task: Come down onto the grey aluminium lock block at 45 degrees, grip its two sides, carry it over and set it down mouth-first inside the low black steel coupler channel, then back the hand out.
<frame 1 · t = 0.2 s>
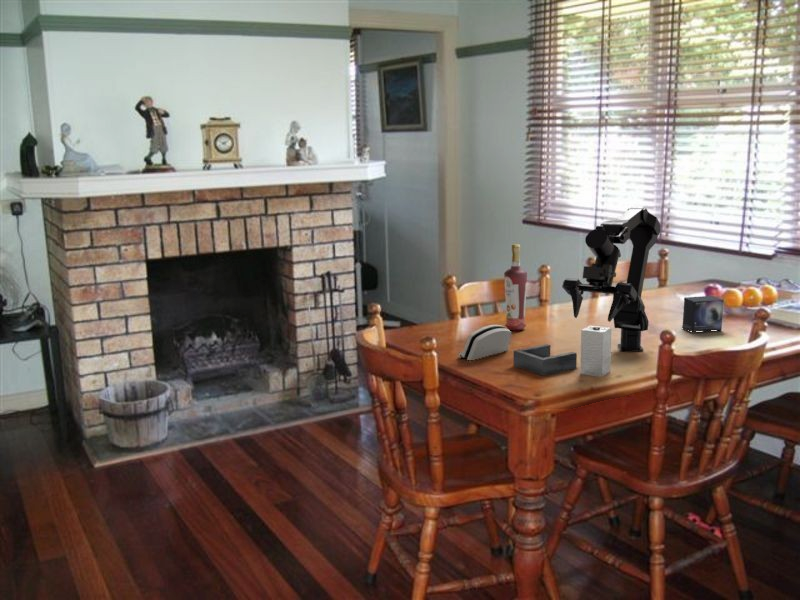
hand: (591, 319, 210), 15 cm above the table, tool tilted 35°, fingers open, 9 cm apart
grey rounded block: (486, 356, 234), on the table
coupler channel: (544, 366, 221), on the table
lock block: (595, 372, 214), on the table
liquor: (515, 330, 264), on the table
small box: (701, 330, 257), on the table
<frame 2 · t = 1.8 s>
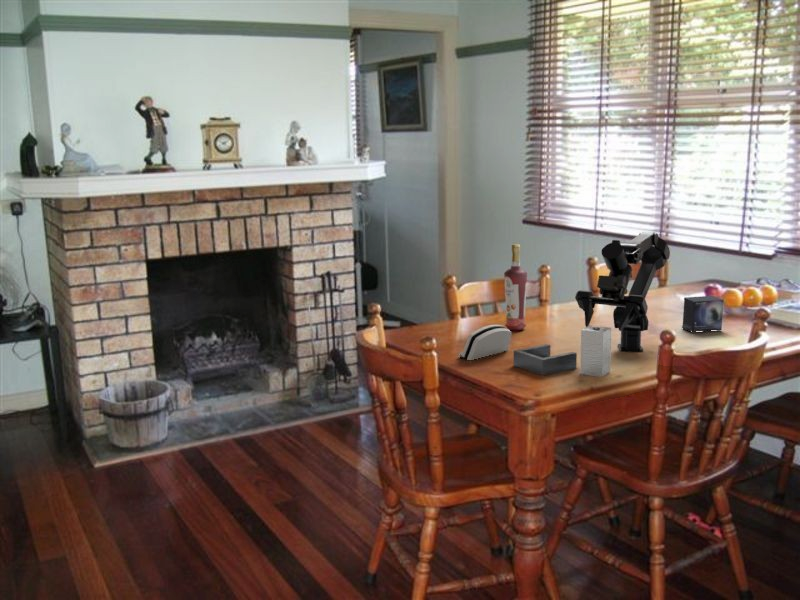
hand: (602, 328, 216), 11 cm above the table, tool tilted 45°, fingers open, 9 cm apart
nothing on the table moved.
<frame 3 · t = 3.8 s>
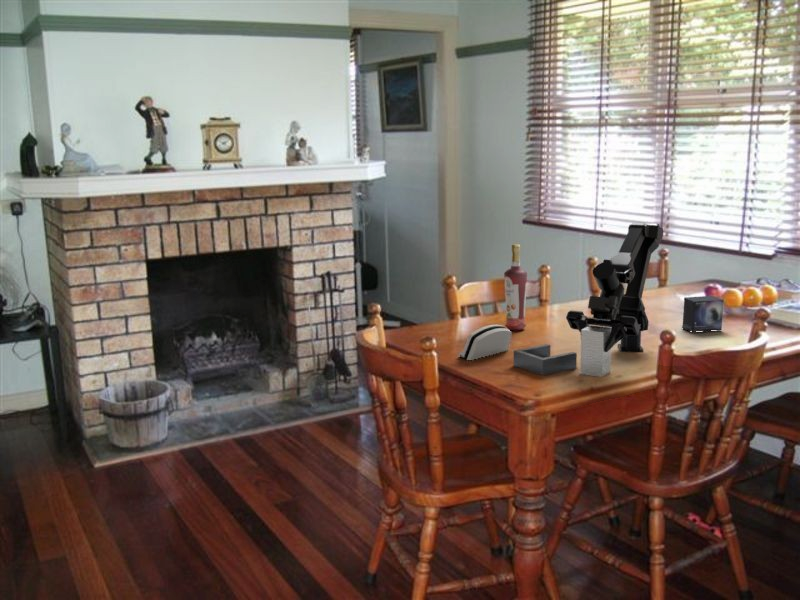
hand: (593, 349, 212), 7 cm above the table, tool tilted 45°, fingers closed on lock block, 6 cm apart
lock block: (595, 372, 214), on the table, touching gripper
everything else where it was.
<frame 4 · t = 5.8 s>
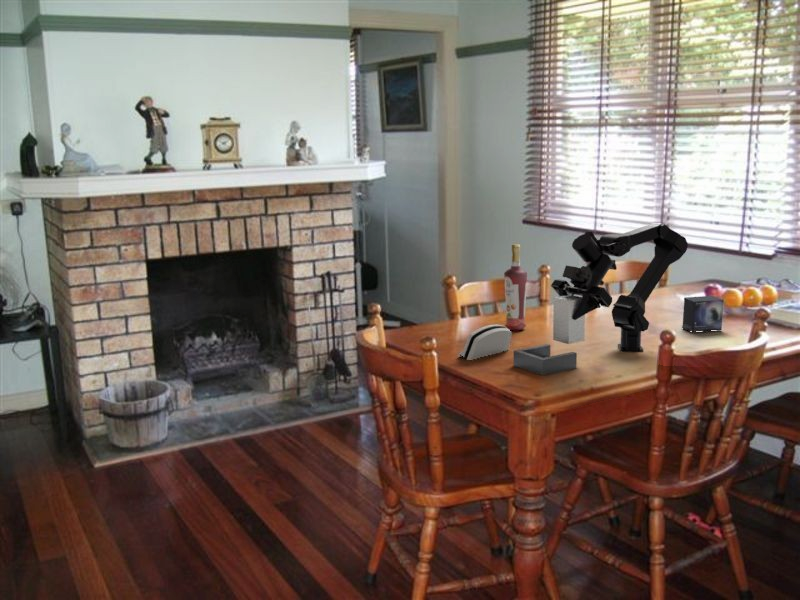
hand: (565, 317, 221), 13 cm above the table, tool tilted 45°, fingers closed on lock block, 6 cm apart
lock block: (568, 340, 223), point 6 cm above the table, touching gripper
everything else where it was.
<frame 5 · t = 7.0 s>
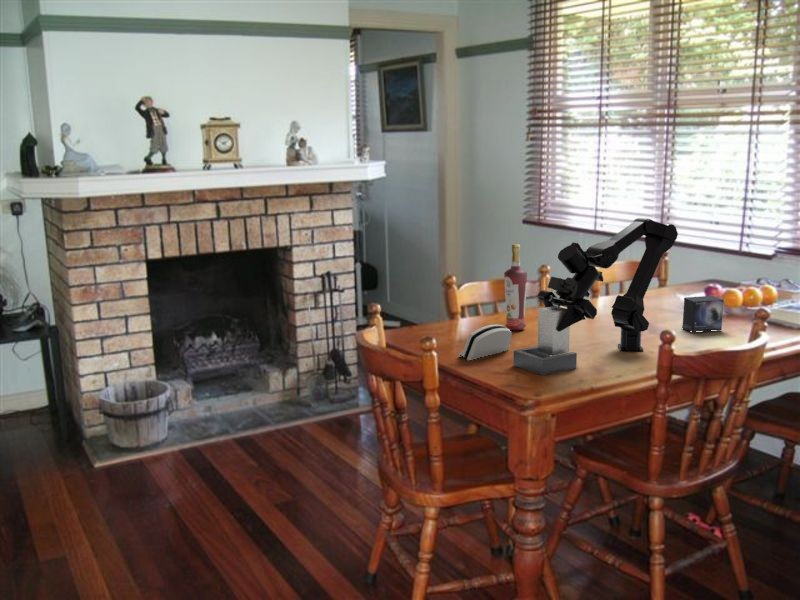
hand: (549, 328, 219), 11 cm above the table, tool tilted 45°, fingers closed on lock block, 6 cm apart
lock block: (553, 351, 221), point 4 cm above the table, touching gripper
everything else where it was.
when the fingers open (9 cm above the table, at t = 8.1 s): lock block drops 1 cm, resting on coupler channel.
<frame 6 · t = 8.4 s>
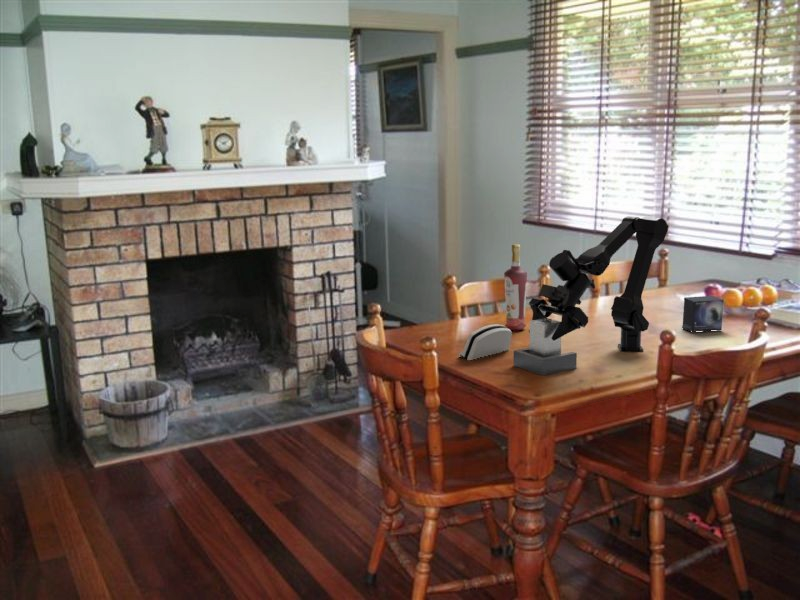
hand: (541, 336, 218), 9 cm above the table, tool tilted 45°, fingers open, 9 cm apart
lock block: (545, 364, 221), point 1 cm above the table, touching coupler channel
everything else where it was.
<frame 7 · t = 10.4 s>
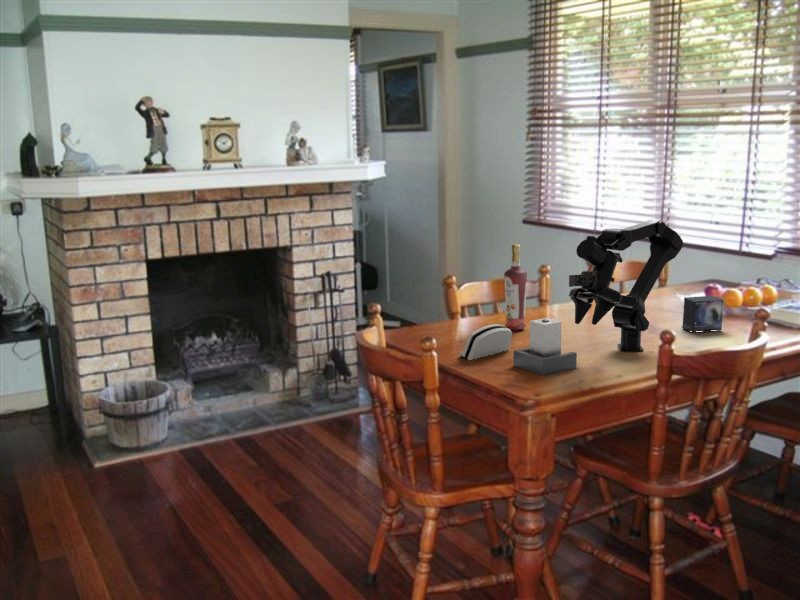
hand: (584, 324, 223), 11 cm above the table, tool tilted 30°, fingers open, 9 cm apart
nothing on the table moved.
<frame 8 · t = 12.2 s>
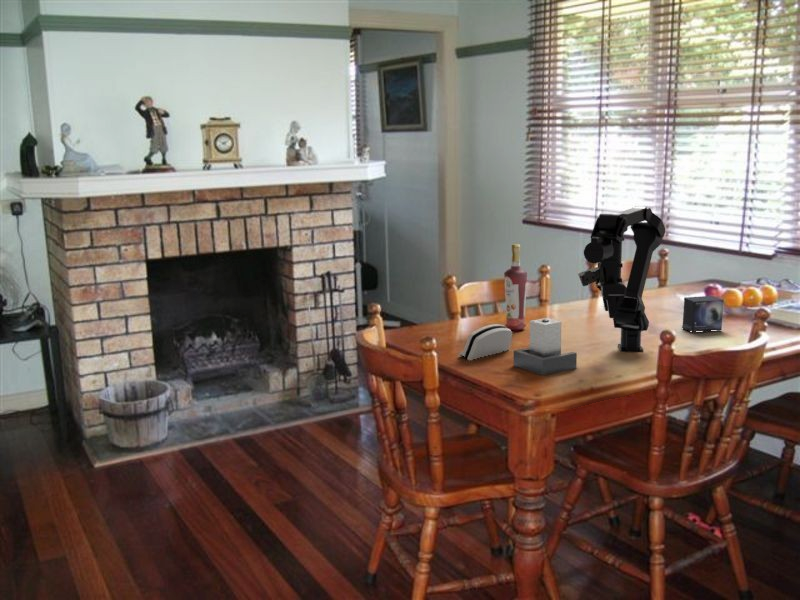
hand: (609, 314, 224), 13 cm above the table, tool pointing down, fingers open, 9 cm apart
nothing on the table moved.
at the end: lock block 0.1 cm from the coupler channel (horizontally); lock block tilted 0°; the gripper is holding nothing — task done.
